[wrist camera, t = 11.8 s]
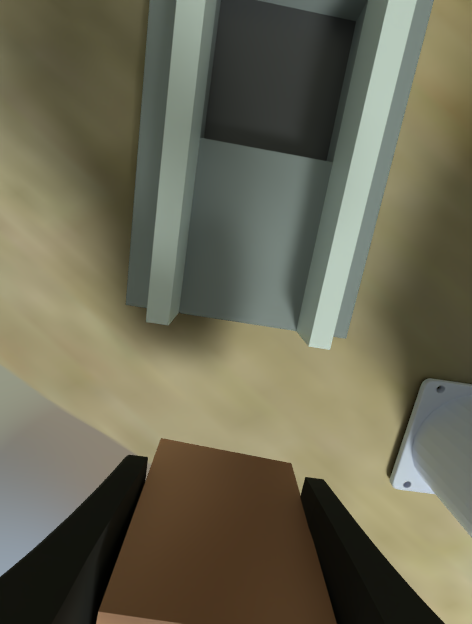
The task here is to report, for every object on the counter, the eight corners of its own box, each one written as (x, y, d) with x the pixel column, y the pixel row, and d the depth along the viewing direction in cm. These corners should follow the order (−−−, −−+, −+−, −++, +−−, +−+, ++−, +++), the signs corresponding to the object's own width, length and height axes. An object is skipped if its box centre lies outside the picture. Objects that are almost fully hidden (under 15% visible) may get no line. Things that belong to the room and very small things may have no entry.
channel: (415, 13, 13) (491, -85, 9) (335, 330, 17) (367, 355, 13) (164, -41, 13) (134, -170, 9) (135, 299, 16) (104, 315, 12)
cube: (343, 647, 6) (278, 788, 7) (291, 463, 11) (258, 562, 12) (98, 611, 5) (70, 766, 6) (161, 438, 10) (139, 543, 11)
